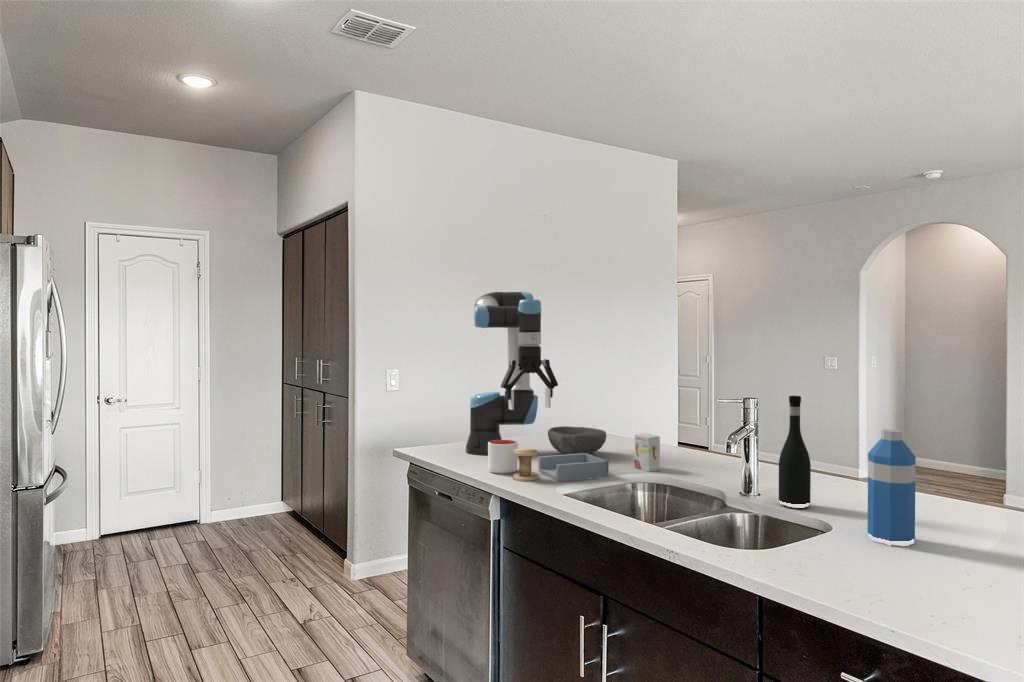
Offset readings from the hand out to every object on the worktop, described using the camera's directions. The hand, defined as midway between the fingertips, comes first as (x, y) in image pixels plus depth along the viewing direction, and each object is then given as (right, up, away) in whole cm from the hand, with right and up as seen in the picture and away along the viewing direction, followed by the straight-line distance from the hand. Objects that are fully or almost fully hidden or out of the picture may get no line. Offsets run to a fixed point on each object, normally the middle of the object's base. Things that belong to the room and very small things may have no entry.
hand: (529, 408), depth 222 cm
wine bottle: (+71, -22, -43) cm, 86 cm away
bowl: (+19, -21, +32) cm, 43 cm away
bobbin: (-2, -22, -9) cm, 24 cm away
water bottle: (+80, -23, -72) cm, 110 cm away
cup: (-9, -22, +2) cm, 24 cm away
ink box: (+41, -22, +6) cm, 47 cm away
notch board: (+14, -22, -3) cm, 26 cm away
